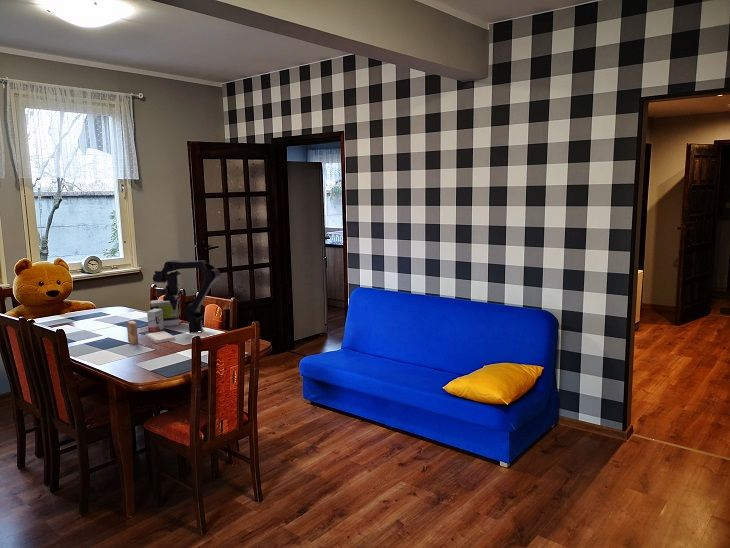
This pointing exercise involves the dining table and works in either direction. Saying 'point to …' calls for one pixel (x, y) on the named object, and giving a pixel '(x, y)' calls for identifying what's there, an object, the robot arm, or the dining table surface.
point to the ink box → (155, 320)
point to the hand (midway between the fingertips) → (174, 310)
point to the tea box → (166, 312)
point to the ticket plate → (160, 336)
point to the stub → (132, 332)
